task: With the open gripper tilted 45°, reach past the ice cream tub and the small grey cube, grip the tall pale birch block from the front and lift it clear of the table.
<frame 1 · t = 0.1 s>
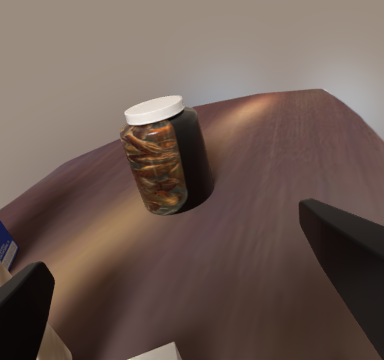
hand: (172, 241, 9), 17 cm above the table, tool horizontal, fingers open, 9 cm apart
jar: (179, 194, 45), on the table
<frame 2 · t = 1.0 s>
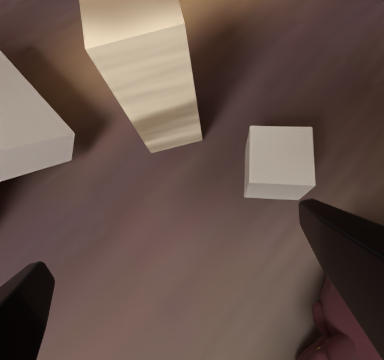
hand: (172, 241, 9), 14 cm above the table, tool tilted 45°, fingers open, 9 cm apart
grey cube: (270, 174, 24), on the table
birch block: (171, 123, 26), on the table
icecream: (358, 296, 21), on the table
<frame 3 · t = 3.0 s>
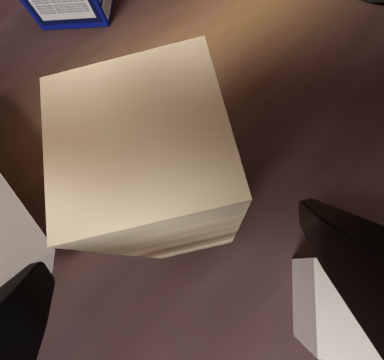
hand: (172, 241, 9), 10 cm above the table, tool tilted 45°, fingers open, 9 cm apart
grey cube: (329, 299, 17), on the table
milk carton: (82, 3, 27), on the table
birch block: (189, 215, 20), on the table
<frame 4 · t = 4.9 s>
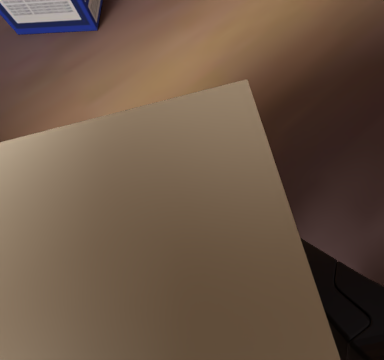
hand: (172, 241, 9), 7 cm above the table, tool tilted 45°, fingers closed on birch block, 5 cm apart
milk carton: (65, 2, 23), on the table
birch block: (196, 275, 15), on the table, touching gripper
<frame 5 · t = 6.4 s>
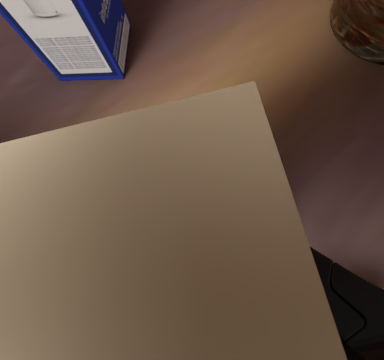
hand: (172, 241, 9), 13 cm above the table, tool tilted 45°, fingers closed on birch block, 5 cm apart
milk carton: (97, 53, 28), on the table
birch block: (198, 274, 15), point 6 cm above the table, touching gripper
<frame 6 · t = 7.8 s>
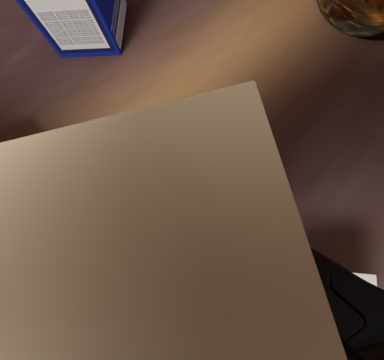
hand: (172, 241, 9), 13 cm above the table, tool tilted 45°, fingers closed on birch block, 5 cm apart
milk carton: (95, 32, 30), on the table
birch block: (198, 274, 15), point 7 cm above the table, touching gripper
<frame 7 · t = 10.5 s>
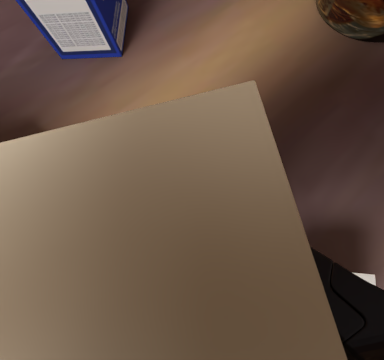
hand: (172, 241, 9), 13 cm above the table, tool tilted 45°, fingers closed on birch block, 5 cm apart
milk carton: (96, 34, 30), on the table
birch block: (198, 274, 15), point 7 cm above the table, touching gripper
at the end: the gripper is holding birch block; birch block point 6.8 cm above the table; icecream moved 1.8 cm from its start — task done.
